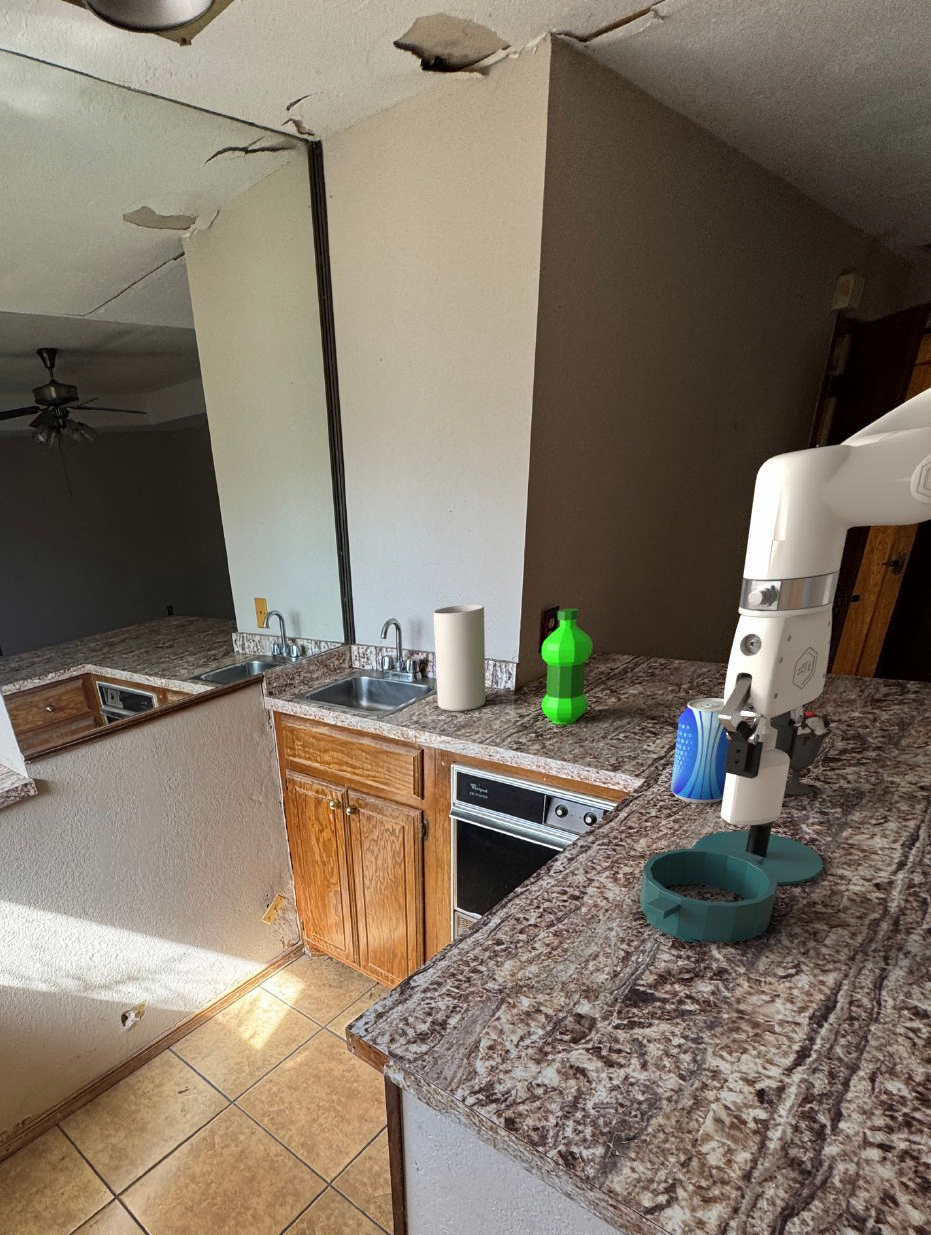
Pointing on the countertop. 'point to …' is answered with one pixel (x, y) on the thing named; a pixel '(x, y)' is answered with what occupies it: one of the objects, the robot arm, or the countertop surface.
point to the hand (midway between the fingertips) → (758, 765)
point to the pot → (702, 916)
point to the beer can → (700, 753)
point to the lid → (769, 852)
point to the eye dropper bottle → (758, 786)
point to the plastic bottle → (566, 669)
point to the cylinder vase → (460, 657)
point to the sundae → (806, 749)
